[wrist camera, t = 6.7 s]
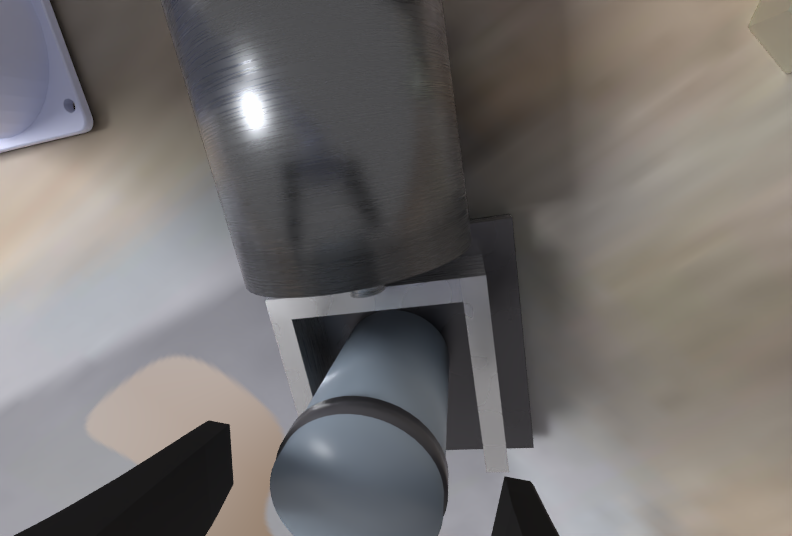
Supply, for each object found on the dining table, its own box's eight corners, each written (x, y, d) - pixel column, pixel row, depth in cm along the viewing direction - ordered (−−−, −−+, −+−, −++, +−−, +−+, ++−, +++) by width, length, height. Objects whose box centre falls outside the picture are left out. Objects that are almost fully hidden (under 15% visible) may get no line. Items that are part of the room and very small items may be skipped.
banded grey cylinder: (337, 390, 17) (260, 542, 10) (352, 296, 16) (273, 403, 9) (438, 416, 17) (425, 592, 10) (463, 322, 15) (467, 454, 9)
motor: (204, 12, 14) (-23, -108, 7) (482, -68, 12) (509, -333, 5) (321, 441, 19) (248, 595, 13) (530, 434, 17) (574, 613, 10)
